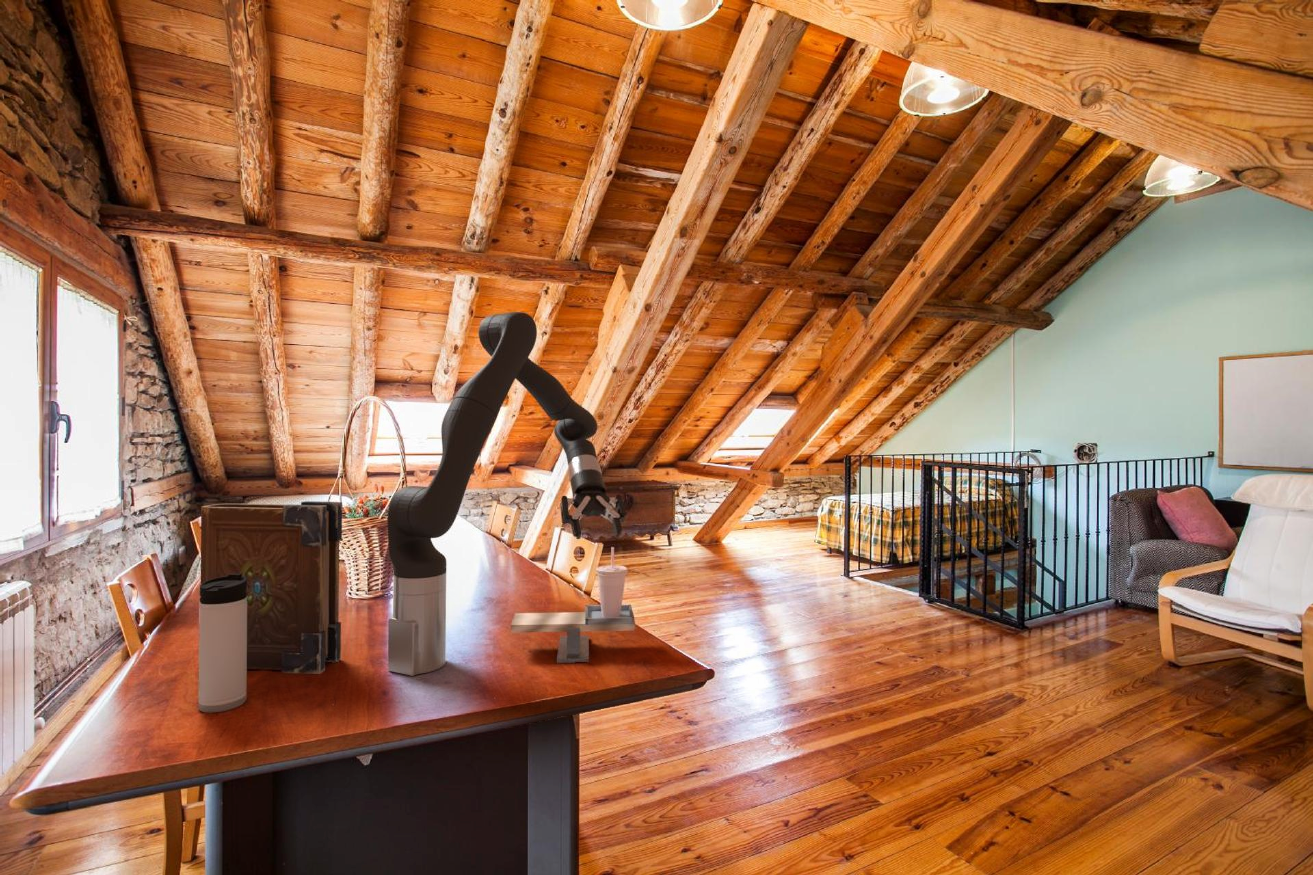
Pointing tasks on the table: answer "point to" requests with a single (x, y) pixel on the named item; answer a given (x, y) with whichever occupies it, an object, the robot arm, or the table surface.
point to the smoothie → (611, 587)
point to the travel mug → (222, 643)
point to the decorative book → (281, 578)
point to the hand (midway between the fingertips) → (598, 536)
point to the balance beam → (573, 621)
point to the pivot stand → (573, 647)
